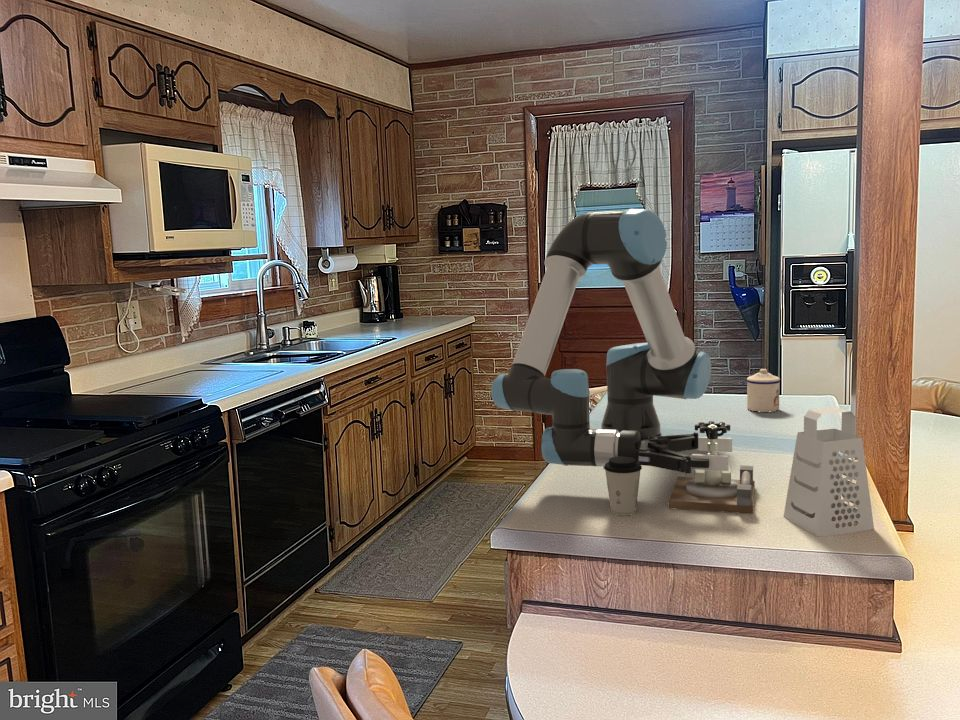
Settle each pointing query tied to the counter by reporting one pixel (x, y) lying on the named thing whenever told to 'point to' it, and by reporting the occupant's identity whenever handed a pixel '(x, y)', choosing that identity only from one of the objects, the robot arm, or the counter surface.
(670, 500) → the shaft stand
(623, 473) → the coffee cup
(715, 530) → the counter surface
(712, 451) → the valve
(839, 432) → the grater
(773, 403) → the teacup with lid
